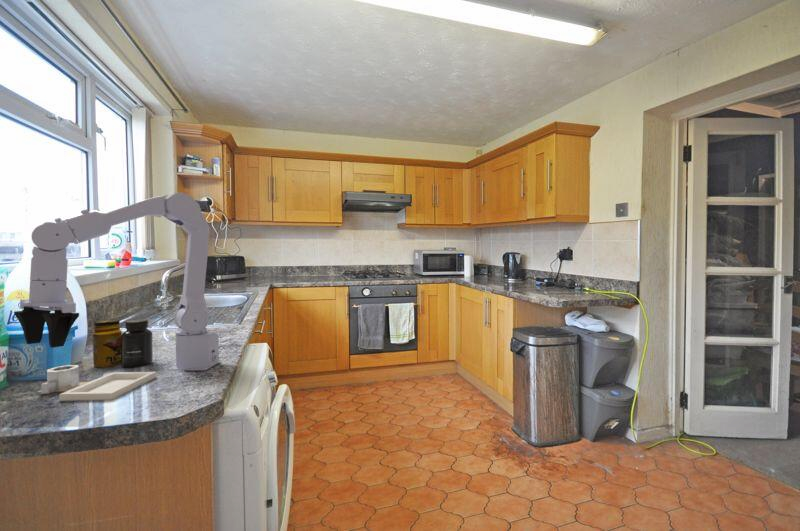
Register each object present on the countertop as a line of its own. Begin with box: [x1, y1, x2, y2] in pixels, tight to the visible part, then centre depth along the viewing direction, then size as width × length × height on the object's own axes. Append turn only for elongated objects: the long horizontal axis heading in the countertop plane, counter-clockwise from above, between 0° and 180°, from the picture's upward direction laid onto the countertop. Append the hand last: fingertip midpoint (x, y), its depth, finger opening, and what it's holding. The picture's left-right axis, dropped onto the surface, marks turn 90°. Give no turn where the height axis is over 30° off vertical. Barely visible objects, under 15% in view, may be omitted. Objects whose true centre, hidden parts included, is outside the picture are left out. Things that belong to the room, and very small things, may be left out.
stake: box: [36, 381, 89, 393], centre depth 82 cm, size 6×6×4 cm
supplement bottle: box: [120, 319, 154, 369], centre depth 99 cm, size 7×7×12 cm
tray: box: [58, 371, 157, 402], centre depth 81 cm, size 10×14×2 cm
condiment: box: [92, 319, 123, 368], centre depth 100 cm, size 7×8×12 cm
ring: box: [40, 364, 80, 395], centre depth 81 cm, size 5×7×4 cm
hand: (45, 344), depth 80 cm, fingers open, 7 cm apart
